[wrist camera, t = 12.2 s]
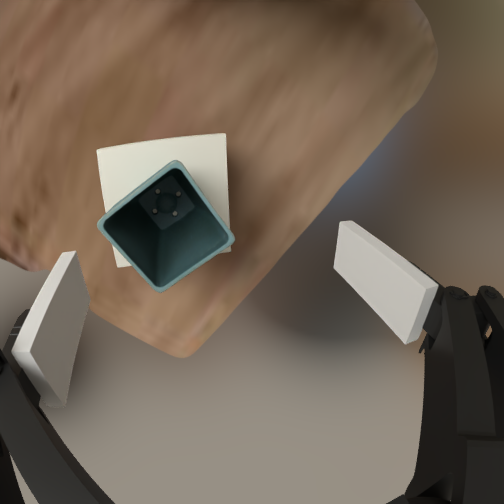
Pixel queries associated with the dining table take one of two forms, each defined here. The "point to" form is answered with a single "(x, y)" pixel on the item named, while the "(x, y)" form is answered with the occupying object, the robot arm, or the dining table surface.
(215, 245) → the flower pot
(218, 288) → the dining table surface
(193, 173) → the footstool
